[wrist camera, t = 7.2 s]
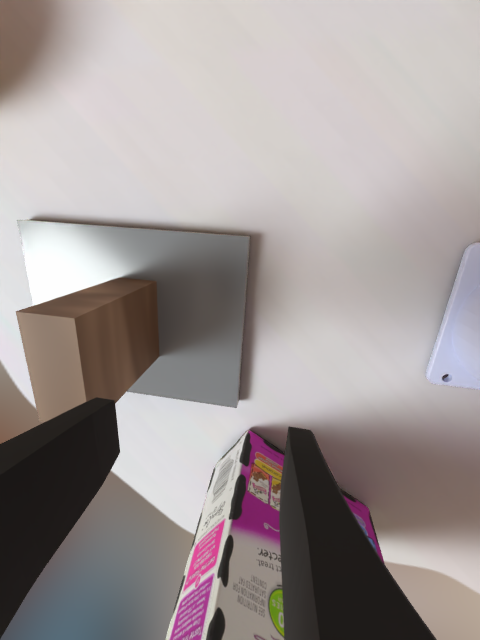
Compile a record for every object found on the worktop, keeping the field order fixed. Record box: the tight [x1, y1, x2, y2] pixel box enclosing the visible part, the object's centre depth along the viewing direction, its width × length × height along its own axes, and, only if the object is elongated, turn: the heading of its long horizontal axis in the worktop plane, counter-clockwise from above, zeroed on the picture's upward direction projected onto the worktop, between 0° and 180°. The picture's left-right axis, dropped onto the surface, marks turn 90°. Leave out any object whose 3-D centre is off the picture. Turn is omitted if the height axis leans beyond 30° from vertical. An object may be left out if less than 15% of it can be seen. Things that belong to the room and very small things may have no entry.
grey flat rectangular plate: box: [17, 220, 250, 408], centre depth 18 cm, size 14×11×1 cm
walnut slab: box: [16, 278, 159, 422], centre depth 15 cm, size 2×5×7 cm, turn 176°
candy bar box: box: [165, 430, 384, 640], centre depth 14 cm, size 11×5×16 cm, turn 56°
